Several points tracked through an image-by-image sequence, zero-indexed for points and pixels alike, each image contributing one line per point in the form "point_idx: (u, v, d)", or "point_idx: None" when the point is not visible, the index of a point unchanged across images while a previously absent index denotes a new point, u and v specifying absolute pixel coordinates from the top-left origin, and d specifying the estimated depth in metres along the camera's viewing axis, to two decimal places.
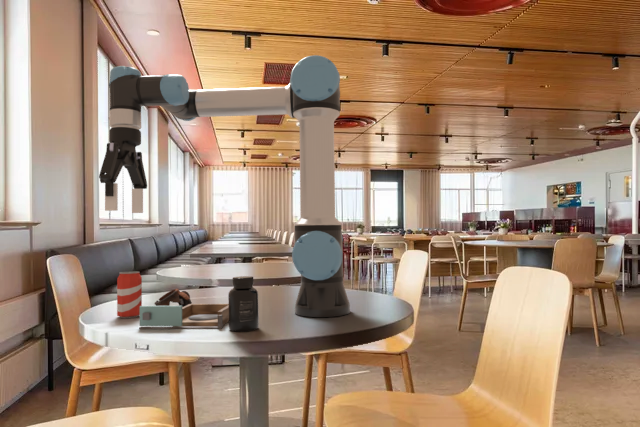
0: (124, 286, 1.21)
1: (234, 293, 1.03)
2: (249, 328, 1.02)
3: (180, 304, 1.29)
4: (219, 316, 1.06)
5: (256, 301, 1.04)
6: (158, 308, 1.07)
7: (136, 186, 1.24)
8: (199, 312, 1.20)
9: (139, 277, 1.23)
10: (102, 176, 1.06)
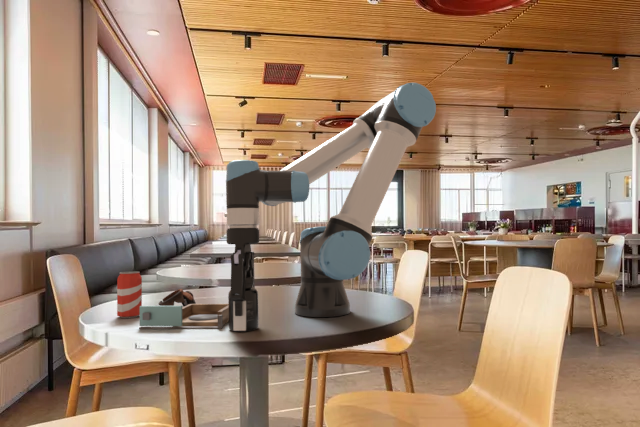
0: (124, 286, 1.21)
1: None
2: (249, 328, 1.02)
3: (184, 304, 1.28)
4: (219, 316, 1.06)
5: (256, 301, 1.04)
6: (158, 308, 1.07)
7: None
8: (199, 312, 1.20)
9: (139, 277, 1.23)
10: (234, 298, 0.99)
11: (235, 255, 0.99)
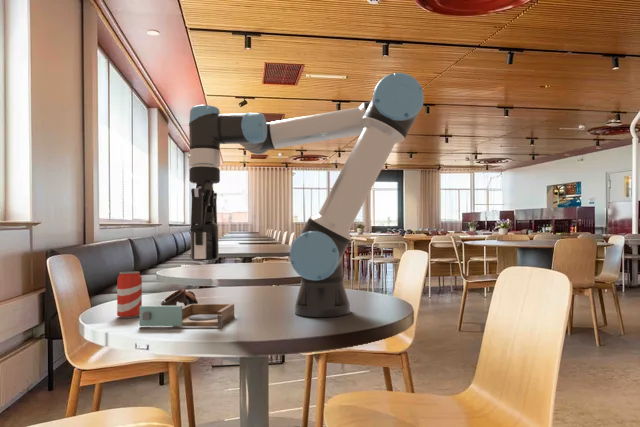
0: (124, 286, 1.21)
1: None
2: (209, 257, 1.13)
3: (186, 304, 1.28)
4: (219, 316, 1.06)
5: (216, 234, 1.15)
6: (158, 308, 1.07)
7: None
8: (199, 312, 1.20)
9: (139, 277, 1.23)
10: (194, 227, 1.09)
11: (195, 189, 1.10)
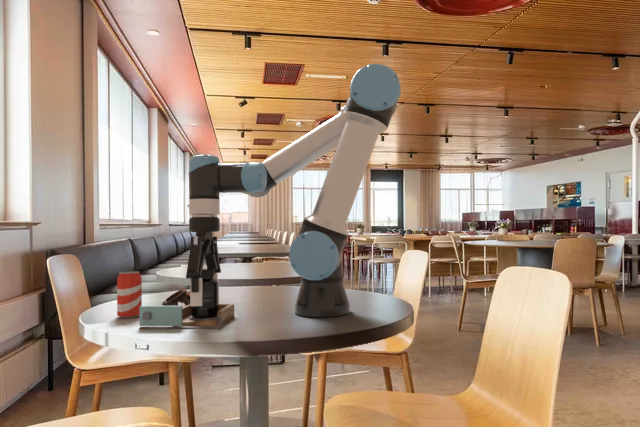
0: (124, 286, 1.21)
1: None
2: (209, 315, 1.12)
3: (187, 304, 1.28)
4: (219, 316, 1.06)
5: (216, 291, 1.14)
6: (158, 308, 1.07)
7: None
8: None
9: (139, 277, 1.23)
10: (189, 274, 1.06)
11: (195, 237, 1.09)
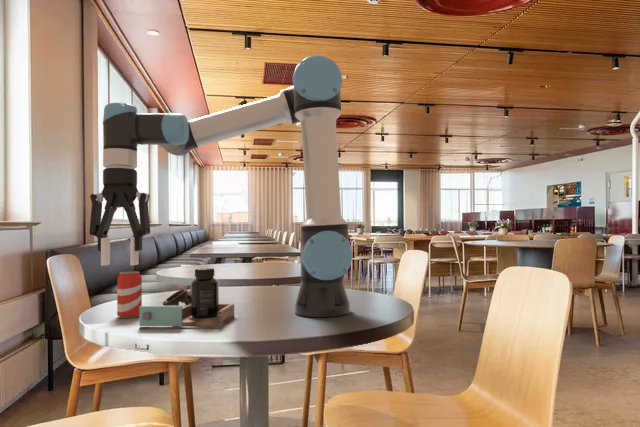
0: (124, 286, 1.21)
1: (195, 283, 1.13)
2: (208, 315, 1.12)
3: (187, 304, 1.28)
4: (219, 316, 1.06)
5: (216, 291, 1.14)
6: (158, 308, 1.07)
7: None
8: None
9: (139, 277, 1.23)
10: None
11: None
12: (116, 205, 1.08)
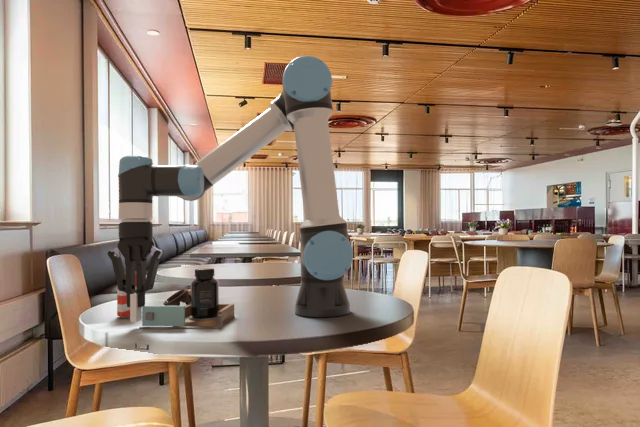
0: None
1: (194, 283, 1.13)
2: (208, 315, 1.12)
3: (188, 304, 1.28)
4: (219, 316, 1.06)
5: (216, 291, 1.14)
6: (161, 308, 1.07)
7: None
8: None
9: None
10: None
11: None
12: (132, 258, 1.08)
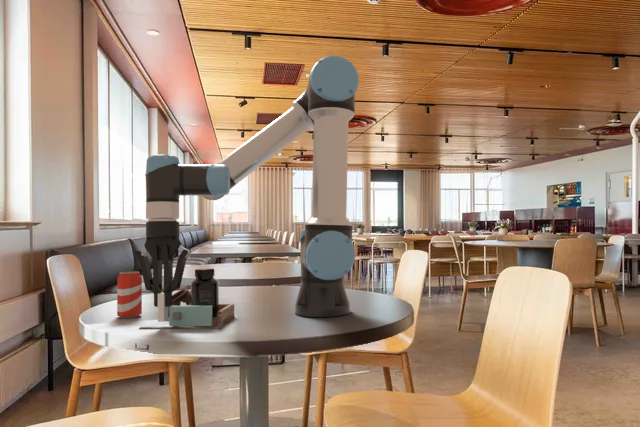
0: (124, 286, 1.21)
1: (195, 283, 1.13)
2: None
3: (188, 304, 1.28)
4: (219, 316, 1.06)
5: (216, 291, 1.14)
6: (188, 308, 1.07)
7: None
8: None
9: (139, 277, 1.23)
10: None
11: None
12: (159, 258, 1.07)
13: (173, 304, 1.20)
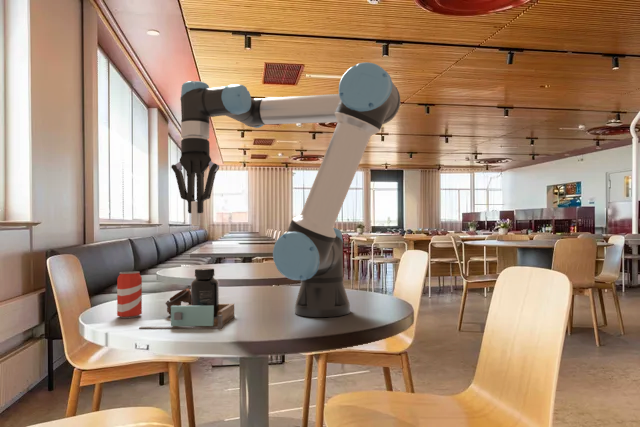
0: (124, 286, 1.21)
1: (195, 283, 1.13)
2: None
3: None
4: (219, 316, 1.06)
5: (216, 291, 1.14)
6: (189, 308, 1.07)
7: None
8: None
9: (139, 277, 1.23)
10: None
11: None
12: (192, 171, 1.24)
13: (174, 304, 1.20)
